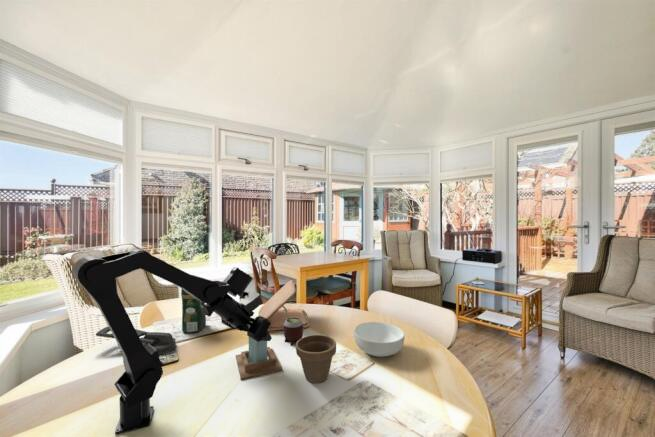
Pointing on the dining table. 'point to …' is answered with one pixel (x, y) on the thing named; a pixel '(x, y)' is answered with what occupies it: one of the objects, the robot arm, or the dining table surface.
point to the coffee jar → (192, 313)
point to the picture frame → (257, 365)
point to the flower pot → (316, 356)
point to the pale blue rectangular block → (257, 350)
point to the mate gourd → (292, 329)
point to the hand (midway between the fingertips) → (261, 335)
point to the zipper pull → (149, 339)
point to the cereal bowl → (379, 338)
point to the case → (279, 316)
